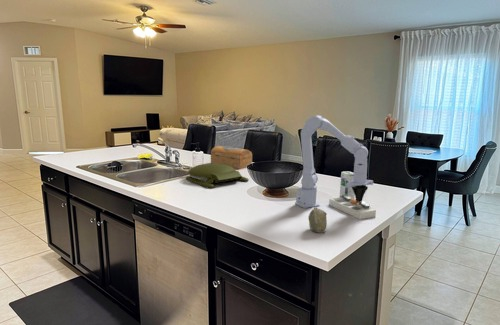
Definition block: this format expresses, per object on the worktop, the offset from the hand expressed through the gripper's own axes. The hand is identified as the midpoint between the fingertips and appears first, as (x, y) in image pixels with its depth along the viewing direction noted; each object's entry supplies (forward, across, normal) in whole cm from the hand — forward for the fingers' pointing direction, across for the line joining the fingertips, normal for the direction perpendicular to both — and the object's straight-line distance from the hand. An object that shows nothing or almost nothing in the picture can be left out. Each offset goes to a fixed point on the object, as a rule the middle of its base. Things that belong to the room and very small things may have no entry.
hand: (358, 200), depth 161 cm
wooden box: (+3, -16, +123) cm, 124 cm away
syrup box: (+5, +8, +17) cm, 20 cm away
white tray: (+5, -2, +2) cm, 6 cm away
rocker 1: (+1, 0, +2) cm, 2 cm away
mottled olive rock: (+5, -31, -12) cm, 34 cm away
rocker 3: (+1, 0, +8) cm, 8 cm away
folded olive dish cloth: (+3, -43, +84) cm, 95 cm away
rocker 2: (+1, 0, -4) cm, 4 cm away
